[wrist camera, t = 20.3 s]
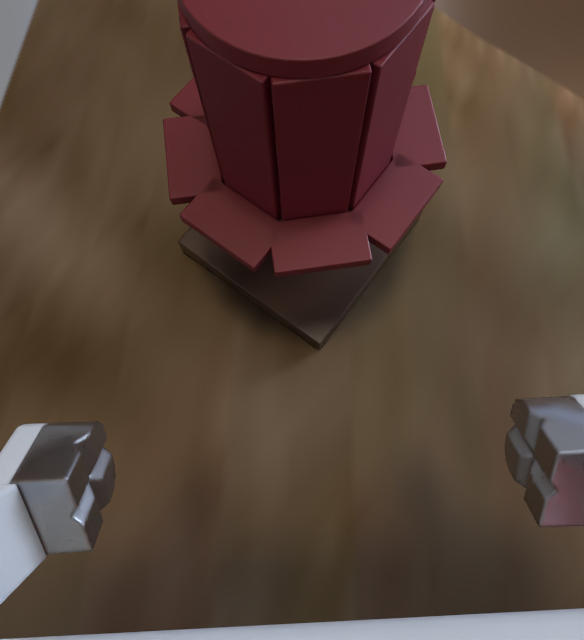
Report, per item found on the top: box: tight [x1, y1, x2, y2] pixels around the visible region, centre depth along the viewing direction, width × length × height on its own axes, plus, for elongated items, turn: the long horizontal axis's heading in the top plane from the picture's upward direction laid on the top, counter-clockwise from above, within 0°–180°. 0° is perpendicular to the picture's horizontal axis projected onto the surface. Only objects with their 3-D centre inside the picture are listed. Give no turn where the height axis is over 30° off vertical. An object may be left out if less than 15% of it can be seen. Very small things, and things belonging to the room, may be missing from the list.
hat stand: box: [178, 210, 423, 349], centre depth 20 cm, size 9×9×15 cm
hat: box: [163, 0, 447, 277], centre depth 16 cm, size 10×10×8 cm
